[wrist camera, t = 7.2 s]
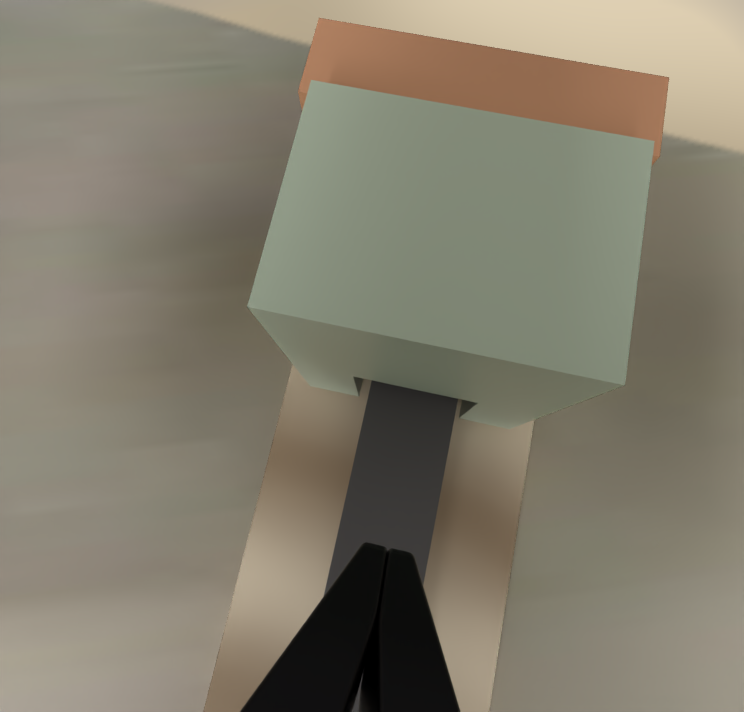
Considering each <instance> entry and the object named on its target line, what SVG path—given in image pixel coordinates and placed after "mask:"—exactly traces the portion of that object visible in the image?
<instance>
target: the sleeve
mask: <svg viewBox="0 0 744 712" xmlns="http://www.w3.org/2000/svg"><path fill="white" fill-rule="evenodd" d="M654 142H655V141H652V140H647V139H641V138H635V137H630V136H624V135H618V134H613V133H607V132H602V131H596V130H590V129H585V128H579V127H574V126H568V125H562V124H557V123H551V122H545V121H540V120H534V119H529V118H523V117H517V116H512V115H506V114H500V113H495V112H489V111H484V110H478V109H472V108H467V107H461V106H455V105H450V104H444V103H439V102H433V101H427V100H422V99H416V98H410V97H405V96H399V95H394V94H388V93H382V92H377V91H371V90H366V89H360V88H354V87H349V86H343V85H337V84H332V83H326V82H321V81H315V80H311V82H310V85H309V89H308V92H307V96H306V100H305V103H304V107H303V110H302V114H301V117H300V121H299V124H298V128H297V132H296V135H295V139H294V142H293V146H292V149H291V153H290V156H289V160H288V164H287V167H286V171H285V174H284V178H283V181H282V185H281V188H280V192H279V195H278V199H277V203H276V206H275V210H274V213H273V217H272V220H271V224H270V227H269V231H268V235H267V238H266V242H265V245H264V249H263V252H262V256H261V259H260V263H259V267H258V270H257V274H256V277H255V281H254V284H253V288H252V291H251V295H250V298H249V302H248V306H247V307H248V309H249V310H250V311H251V312H252V314H253V315H254V316H255V317H256V319H257V320H258V321H259V322H260V324H261V325H262V326H263V327H264V329H265V330H266V331H267V332H268V334H269V335H270V336H271V337H272V339H273V340H274V341H275V343H276V344H277V345H278V346H279V348H280V349H281V350H282V351H283V353H284V354H285V355H286V356H287V358H288V359H289V360H290V361H291V363H292V364H293V365H294V366H295V368H296V369H297V370H298V371H299V373H300V374H301V375H302V377H303V378H304V379H305V380H306V382H307V383H308V384H309V385H310V386H312V387H317V388H321V389H326V390H330V391H335V392H340V393H344V394H349V395H354V396H358V397H359V395H360V390H361V386H362V381H363V379H368V380H373V381H377V382H382V383H387V384H391V385H396V386H401V387H405V388H410V389H415V390H419V391H424V392H429V393H433V394H438V395H443V396H447V397H452V398H457V399H462V403H461V408H460V414H459V418H460V419H465V420H469V421H474V422H479V423H483V424H488V425H492V426H497V427H502V428H506V429H511V428H514V427H516V426H519V425H522V424H524V423H527V422H530V421H532V420H535V419H538V418H540V417H543V416H545V415H548V414H551V413H553V412H556V411H559V410H561V409H564V408H567V407H569V406H572V405H574V404H577V403H580V402H582V401H585V400H588V399H590V398H593V397H596V396H598V395H601V394H603V393H606V392H609V391H611V390H614V389H617V388H619V387H622V386H625V381H626V373H627V365H628V356H629V348H630V340H631V332H632V323H633V315H634V307H635V299H636V290H637V282H638V274H639V266H640V257H641V249H642V241H643V233H644V224H645V216H646V208H647V200H648V191H649V183H650V175H651V166H652V158H653V150H654Z"/></svg>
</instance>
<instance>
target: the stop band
mask: <svg viewBox="0 0 744 712" xmlns="http://www.w3.org/2000/svg"><path fill="white" fill-rule="evenodd" d="M311 80H315V81H321V82H326V83H332V84H337V85H343V86H349V87H354V88H360V89H366V90H371V91H377V92H382V93H388V94H394V95H399V96H405V97H410V98H416V99H422V100H427V101H433V102H439V103H444V104H450V105H455V106H461V107H467V108H472V109H478V110H484V111H489V112H495V113H500V114H506V115H512V116H517V117H523V118H529V119H534V120H540V121H545V122H551V123H557V124H562V125H568V126H574V127H579V128H585V129H590V130H596V131H602V132H607V133H613V134H618V135H624V136H630V137H635V138H641V139H647V140H652V141H655V142H654V150H653V158H652V165H653V164H654V163H655V161H656V160H657V159H658V158H659V157H660V150H661V142H662V133H663V124H664V116H665V108H666V99H667V91H668V82H669V77H664V76H658V75H652V74H646V73H640V72H634V71H629V70H622V69H617V68H611V67H605V66H599V65H593V64H587V63H581V62H576V61H570V60H564V59H558V58H552V57H546V56H540V55H534V54H529V53H522V52H517V51H511V50H505V49H499V48H493V47H487V46H481V45H476V44H469V43H463V42H458V41H452V40H446V39H440V38H434V37H428V36H423V35H417V34H411V33H405V32H399V31H393V30H387V29H382V28H376V27H370V26H364V25H358V24H352V23H346V22H340V21H334V20H329V19H322V18H319V20H318V23H317V27H316V30H315V34H314V37H313V41H312V44H311V48H310V51H309V55H308V58H307V62H306V65H305V69H304V72H303V76H302V79H301V83H300V86H299V90H298V94H299V99H300V103H301V108H302V110H303V107H304V103H305V100H306V96H307V92H308V89H309V85H310V82H311Z"/></svg>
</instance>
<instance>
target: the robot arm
mask: <svg viewBox="0 0 744 712" xmlns="http://www.w3.org/2000/svg"><path fill="white" fill-rule="evenodd" d="M362 674H363V675H362ZM361 678H362V682H361ZM360 682H361V688H360V698H359V708H358V712H461V711H460V708H459V705H458V701H457V698H456V694H455V691H454V688H453V684H452V681H451V678H450V674H449V671H448V668H447V664H446V661H445V657H444V654H443V651H442V647H441V644H440V641H439V637H438V634H437V631H436V627H435V624H434V620H433V617H432V614H431V610H430V607H429V604H428V600H427V597H426V594H425V590H424V587H423V583H422V580H421V577H420V573H419V570H418V567H417V563H416V560H415V557H414V555H413V554H412V553H410V552H407V551H403V550H398V549H394V548H391V549H389V550H388V552H387V548H386V547H384V546H381V545H377V544H373V543H369V542H365V543H363V544H362V545H361V546H360V547H359V549H358V550H357V551H356V553H355V554H354V555H353V557H352V558H351V560H350V561H349V562H348V564H347V565H346V566H345V568H344V569H343V571H342V572H341V573H340V575H339V576H338V577H337V579H336V580H335V582H334V583H333V584H332V586H331V587H330V588H329V590H328V591H327V593H326V594H325V595H324V597H323V598H322V599H321V601H320V602H319V603H318V605H317V606H316V608H315V609H314V610H313V612H312V613H311V614H310V616H309V617H308V619H307V620H306V621H305V623H304V624H303V625H302V627H301V628H300V630H299V631H298V632H297V634H296V635H295V636H294V638H293V639H292V641H291V642H290V643H289V645H288V646H287V647H286V649H285V650H284V652H283V653H282V654H281V656H280V657H279V658H278V660H277V661H276V663H275V664H274V665H273V667H272V668H271V669H270V671H269V672H268V673H267V675H266V676H265V678H264V679H263V680H262V682H261V683H260V684H259V686H258V687H257V689H256V690H255V691H254V693H253V694H252V695H251V697H250V698H249V700H248V701H247V702H246V704H245V705H244V706H243V708H242V709H241V711H240V712H352V711H353V707H354V704H355V701H356V697H357V694H358V690H359V686H360Z"/></svg>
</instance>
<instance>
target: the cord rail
mask: <svg viewBox="0 0 744 712" xmlns="http://www.w3.org/2000/svg"><path fill="white" fill-rule="evenodd" d="M457 402H458V399H457V398H452V397H447V396H443V395H438V394H433V393H429V392H424V391H419V390H415V389H410V388H405V387H401V386H396V385H391V384H387V383H382V382H377V381H373V380H372V381H371V386H370V390H369V395H368V399H367V404H366V408H365V413H364V417H363V422H362V426H361V431H360V435H359V440H358V444H357V449H356V453H355V458H354V462H353V467H352V471H351V476H350V480H349V485H348V489H347V494H346V498H345V502H344V507H343V511H342V516H341V520H340V525H339V529H338V534H337V538H336V543H335V547H334V552H333V556H332V561H331V565H330V570H329V574H328V579H327V583H326V588H325V592H324V595H325V594H326V593H327V591H328V590H329V588H330V587H331V586H332V584H333V583H334V582H335V580H336V579H337V577H338V576H339V575H340V573H341V572H342V571H343V569H344V568H345V566H346V565H347V564H348V562H349V561H350V560H351V558H352V557H353V555H354V554H355V553H356V551H357V550H358V549H359V547H360V546H361V545H362V544H363V543H365V542H369V543H373V544H377V545H381V546H384V547H386V548H387V552H388V550H389V549H391V548H394V549H398V550H403V551H407V552H410V553H412V554H413V555H414V557H415V560H416V563H417V567H418V570H419V573H420V577H421V580H422V583H423V584H424V579H425V573H426V568H427V563H428V557H429V552H430V547H431V541H432V536H433V531H434V525H435V520H436V515H437V509H438V504H439V498H440V493H441V488H442V482H443V477H444V472H445V466H446V461H447V456H448V450H449V445H450V440H451V434H452V429H453V424H454V418H455V413H456V408H457ZM362 675H363V674H362ZM361 682H362V678H361ZM361 682H360V686H359V690H358V694H357V697H356V701H355V704H354V707H353V711H352V712H358V708H359V698H360V688H361Z"/></svg>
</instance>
